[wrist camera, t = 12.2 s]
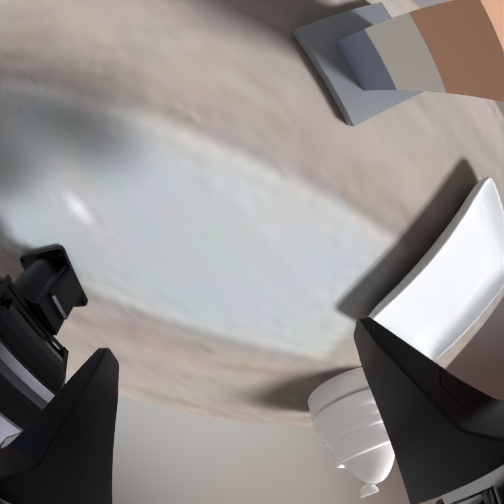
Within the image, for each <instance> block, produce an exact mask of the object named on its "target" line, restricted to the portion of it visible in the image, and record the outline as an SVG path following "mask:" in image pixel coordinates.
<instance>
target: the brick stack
mask: <svg viewBox="0 0 504 504" xmlns="http://www.w3.org/2000/svg"><path fill="white" fill-rule="evenodd" d="M336 43H337V45H338V47H339V48H340V50H341V51H342V53H343V55H344V56H345V58H346V60H347V61H348V63H349V65H350V67H351V68H352V70H353V72H354V74H355V75H356V77H357V79H358V81H359V83H360V85H361V87H362V89H363V91H367V90H412V91H430V92H443V93H452V94H461V95H468V96H475V97H481V98H487V99H492V100H497V101H502V102H504V0H454V1H449V2H445V3H441V4H437V5H433V6H429V7H425V8H422V9H419V10H415V11H412V12H409V13H406V14H403V15H400V16H397V17H394V18H391V19H389V20H386V21H383V22H381V23H378V24H376V25H373V26H371V27H368V28H366V29H364V30H361V31H359V32H357V33H354V34H352V35H350V36H348V37H346V38H344V39H341V40H339V41H337V42H336Z"/></svg>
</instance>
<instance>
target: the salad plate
mask: <svg viewBox="0 0 504 504" xmlns="http://www.w3.org/2000/svg"><path fill="white" fill-rule="evenodd" d="M503 286H504V210H503V207H502V203H501V200H500V197H499V194H498V191H497V188H496V185H495V183H494V181H493V180H492V178H491V177H485V178H483V179H482V180H481V181H479V182H478V183H477V184H476V186H475V187H474V188H473V189H472V191H471V192H470V194H469V195H468V197H467V198H466V200H465V201H464V203H463V204H462V206H461V207H460V209H459V210H458V212H457V213H456V215H455V216H454V218H453V219H452V221H451V222H450V223H449V225H448V226H447V227H446V229H445V230H444V231H443V233H442V234H441V235H440V236H439V238H438V239H437V240H436V242H435V243H434V244H433V245H432V247H431V248H430V249H429V250H428V252H427V253H426V254H425V255H424V256H423V258H422V259H421V260H420V261H419V262H418V263H417V264H416V266H415V267H414V268H413V269H412V270H411V271H410V272H409V273H408V274H407V275H406V277H405V278H404V279H403V280H402V281H401V282H400V283H399V284H398V285H397V286H396V287H395V288H394V289H393V290H392V291H391V292H390V293H389V294H388V295H387V296H386V297H385V298H384V299H383V300H382V301H381V302H380V303H379V304H378V305H377V306H376V307H375V308H374V310H373V311H372V312H371V313H370V314H369V316H368V317H371V318H372V319H374V320H375V321H376V322H378V323H379V324H381V325H382V326H384V327H385V328H387V329H388V330H390V331H391V332H392V333H394V334H395V335H397V336H398V337H400V338H401V339H402V340H404V341H405V342H407V343H408V344H410V345H411V346H413V347H414V348H415V349H417V350H418V351H420V352H421V353H423V354H424V355H425V356H427V357H428V358H430V359H431V360H433V361H435V360H436V359H437V358H439V357H440V356H441V355H442V354H443V353H444V352H445V351H446V350H448V349H449V348H450V347H451V346H452V345H453V344H454V343H455V342H456V341H457V340H458V339H459V338H460V337H461V336H462V335H463V334H464V333H465V332H466V331H467V330H468V329H469V328H470V327H471V326H472V325H473V324H474V323H475V321H476V320H477V319H478V318H479V317H480V316H481V314H482V313H483V312H484V311H485V310H486V308H487V307H488V306H489V305H490V304H491V302H492V301H493V300H494V298H495V297H496V296H497V295H498V293H499V292H500V291H501V289H502V288H503Z"/></svg>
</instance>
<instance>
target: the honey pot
mask: <svg viewBox="0 0 504 504" xmlns="http://www.w3.org/2000/svg"><path fill="white" fill-rule="evenodd" d="M308 406H309V410H310V414H311V417H312V420H313V424H314V429H315V430H316V432H317V434H318V435H319V436H320V437H322V440H323V442H324V443H325V444H327V448H328V450H330V451H332V452H333V454H334V455H335V456H336V457H337V460H336V461H335V463H334V465H335V466H336V467H338V468H346V469H347V470H348V471H350V472H351V473H352V474H353V475H354V476H356V477H357V478H358V479H360V480H362V481H364V482H367V484H365V485H364V486H363V487H362V488H361V491H360V497H361V498H362V497H365V496H367V495H370V494H373V493H375V492H378V491H379V490H378V488H377V487H376V486H375V485H374V484H376V483H379V482H381V481H382V480H384V479H385V478H386V476H387V475H388V474H389V472H390V470H391V467H392V465H393V461H394V457H395V454H394V451H393V448H392V445H391V442H390V440H389V437H388V434H387V431H386V429H385V426H384V423H383V421H382V418H381V415H380V413H379V410H378V407H377V405H376V402H375V400H374V397H373V395H372V392H371V390H370V387H369V385H368V382H367V380H366V377H365V375H364V371H363V368H362V367H360V368H356V369H352V370H349V371H346V372H344V373H341V374H338V375H337V376H335V377H333V378H331V379H329V380H327V381H326V382H324V383H323V384H321V385H320V386H318V387H317V388H316V389H315V390H314V391H313V392H312V393H311V395H310V396H309V398H308Z"/></svg>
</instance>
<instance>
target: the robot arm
mask: <svg viewBox="0 0 504 504" xmlns="http://www.w3.org/2000/svg"><path fill="white" fill-rule="evenodd" d="M59 251H60V252H61V253H62V254H61V253H60V252H59ZM20 262H21V264H22V266H23V268H24V271H23V273H22V274H21V275H20V276H19V277H18V279H17V280H16V281H15V282H14V283H12V281H11V280H12V279H11V278H10V276H9V275H6V276H5V277H3V278H1V276H0V504H112V463H113V462H112V461H113V445H114V433H115V422H116V412H117V403H118V378H119V363H118V361H117V359H116V358H115V356H114V355H113V353H112V352H111V350H110V349H109V348H99V349H97V350H96V351H95V352H94V354H93V355H92V356H91V357H90V358H89V359H88V360H87V361H86V362H85V363H84V364H83V365H82V366H81V367H80V368H79V370H78V371H77V372H76V373H75V374H74V375H73V376H72V377H71V378H70V380H69V381H68V382H67V383H66V384H65V379H66V368H67V360H68V352H69V351H68V350H67V349H66V348H65V347H63V346H62V345H61V344H60V343H59V342H58V340H57V339H56V338H55V337H54V336H53V335H57V334H58V332H59V330H60V328H61V326H62V324H63V322H64V320H65V319H67V318H68V316H69V314H70V312H71V311H72V309H73V307H80V306H86V305H87V303H88V299H87V297H86V295H85V293H84V291H83V289H82V287H81V285H80V283H79V281H78V279H77V276H76V274H75V272H74V270H73V268H72V265H71V263H70V261H69V258H68V256H67V253H66V251H65V249H64V248H63V247H56V248H51V249H46V250H42V251H37V252H32V253H28V254H24V255H22V256H21V257H20ZM82 300H83V301H82ZM354 340H355V344H356V347H357V350H358V354H359V357H360V361H361V364H362V368H363V371H364V375H365V377H366V380H367V382H368V385H369V387H370V390H371V392H372V395H373V397H374V400H375V402H376V405H377V407H378V410H379V413H380V415H381V418H382V421H383V423H384V426H385V429H386V431H387V434H388V437H389V440H390V442H391V445H392V448H393V451H394V454H395V457H396V459H397V463H398V465H399V469H400V472H401V475H402V478H403V481H404V485H405V488H406V491H407V494H408V498H409V501H410V504H419V503H422V502H425V501H428V500H431V499H434V498H436V497H439V496H442V498H441V499H439V500H438V501H437V502H436V504H504V400H500V399H496V398H493V397H491V396H489V395H487V394H485V393H483V392H482V391H480V390H478V389H476V388H474V387H473V386H470V385H469V384H467V383H466V382H464V381H462V380H461V379H459V378H457V377H455V376H454V375H452V374H451V373H450V372H448V371H447V370H445V369H444V368H443V367H441V366H439V365H438V364H437V363H435V362H434V361H433V360H431V359H430V358H428V357H427V356H425V355H424V354H423V353H421V352H420V351H418V350H417V349H415V348H414V347H413V346H411V345H410V344H408V343H407V342H405V341H404V340H402V339H401V338H400V337H398V336H397V335H395V334H394V333H392V332H391V331H390V330H388V329H387V328H385V327H384V326H382V325H381V324H379V323H378V322H376V321H375V320H374V319H372V318H371V317H368V316H366V317H362V318H359V319H358V320H357V323H356V327H355V331H354ZM17 434H19V435H18V436H17V437H16V438H15V439H14V440H13V441H12V442H11V443H10V444H9V445H7V446H6V447H4V448H1V446H2V444H3V443H4V441H5V439H7V438H9V437H12V436H14V435H17Z"/></svg>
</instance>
